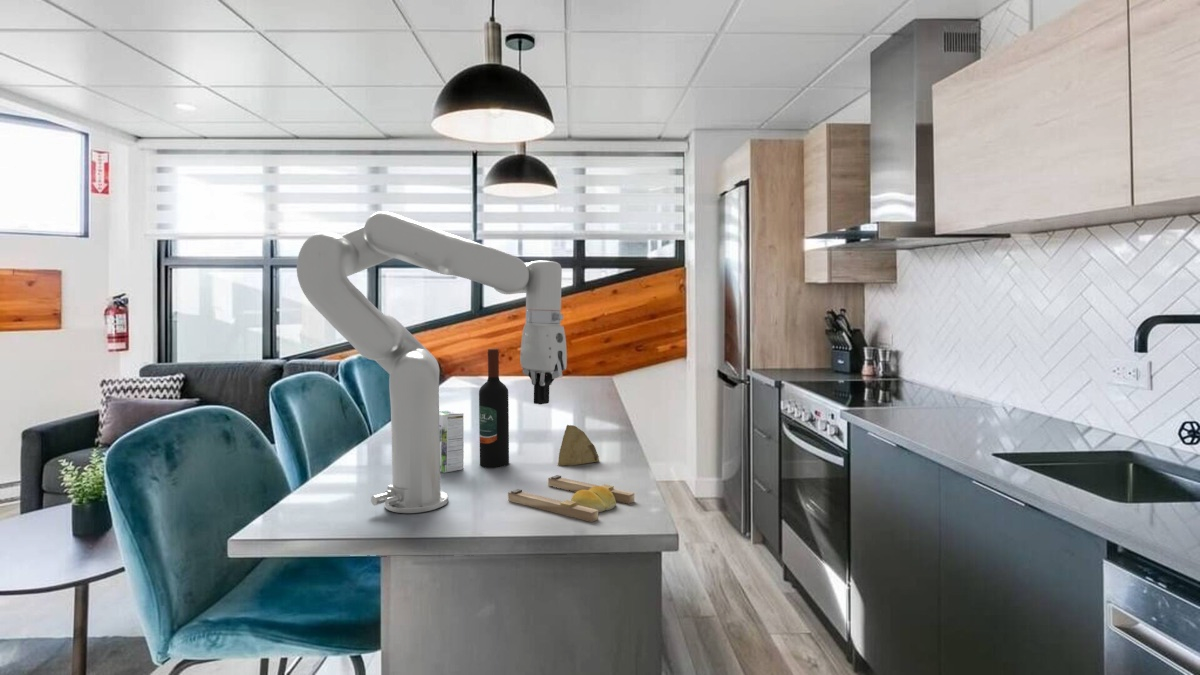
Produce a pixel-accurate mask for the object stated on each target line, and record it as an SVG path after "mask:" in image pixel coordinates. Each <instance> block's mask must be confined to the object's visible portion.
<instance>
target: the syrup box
mask: <svg viewBox="0 0 1200 675" xmlns="http://www.w3.org/2000/svg"><path fill="white" fill-rule="evenodd" d="M439 428H440V473H443V474H445V473H449V472H455V471H460V470H464V467H465V466H464V464H465V462H464V453H465V452H464V446H465V445H464V432H465V431H464V413H463V412H459V411H455V410H439Z"/></svg>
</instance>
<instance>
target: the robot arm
mask: <svg viewBox="0 0 1200 675" xmlns="http://www.w3.org/2000/svg"><path fill="white" fill-rule="evenodd" d="M392 259H396V260H400V261H402V262H405V263H408V264H411V265H414V266H417V267H420V268H423V269H425V270H428V271H431V272H433V273H436V274H437V273H438V274H440V275H444V276H445V275H446V276H453V277H454V276H455V277H459V278H462V279H466V280H469V281H473V282H476V283H479V284H482V285H484V286H487V287H489V288H493V289H494V290H495V291H496V292H498V293H500V294H501V295H502V294H503V295H515V294H525V324H523V329H522V335H521V339H520V340H521V343H520V356H519V358H520V367H521V368H522V374H523V375H525V376H527V377H529V378H530V380H531V381H530V382H531V385H532V386H533V404H535V405H545V404H549V403H550V386H552V384H553V382H554V380H556V379H560V378H561V379H562V378H563V371H566V370H567V366H568V362H567V361H568V358H567V357H568V354H567V352H568V350H567V337H566V333H565V328H564V325H561V321H563V320H564V315H563V314H562V313H561V312H562V311H561V310H562V283H563V282H562V278H563V276H562V273H563V272H562V266H561V263H559V262H557V261H552V260H551V261H550V260H534V261H533V260H531V261H530V262H524V261H523V259H521V258H519V257H517V256H515V255H513V254H510V253H508V252H504V251H502V250H499V249H496V248H494V247H491V246H488V245H485V244H482V243H479V242H476V241H473V240H469V239H466V238H464V237H461V236H458V235H456V234H452V233H450V232H446V231H443V230H441V229H438V228H436V227H432V226H430V225H427V224H424V223H422V222H418V221H417V220H413V219H411V218H408V217H405V216H403V215H400V214H397V213H394V212H392V211H391V212H389V211H377V212H374V213H372V215H370V216H369V217H368V219H367V220H366V221H365V224H364V226H361V227H360V228H357V229H355V230H352V231H349V232H346V233H344V234H341V235H340V234H337V233H334V232H330V231H329V232H328V231H323V232H317V233H314V234H313V235H311V236H309V237H308V238H307V239H306V240H305V241H304V242H303V243H302V246H301V248H300V250H299V252H298V256H297V261H296V275H297V276H296V277H297V281H298V284H299V286H300V288H301V291H302V293H303V294H304V296H305V297H306V299H307V301H308V302H310V304H311V305H312V306H313V307H314V309H315V310H317V311H318V313H320V315H321V316H322V317H323V318H324V319H326V322H327V321H328V322H329V324H330V325H331V326H332V327H333V328H334V329H335V330H336V331H337V332H338V333H339V334H340V335H341V336H342V337H343V338H344V339H345V340H346V341H347V342H348V343H349V344H350V345H351V346H352V347H353V348H354V349H355V350H356V352H357V353H358V354H359V355H361V356H362V357H363V358H365V359H368V360H371V361H375V362H376V363H377V364H378V365H379V366H380V367H381V368H383V370H385V372H387V374H389V379H388V385H389V387H388V388H389V390H388V391H389V400H390V429H391V430H390V432H391V464H392V466H391V470H392V471H391V472H392V476H391V477H392V484H389V485H387V490H385V492H384V493H378V494H374V495H372V496H371V497H370V503H371V504H372V506H377V505H381V504H384V507H385V509H386V510H387V511H390V512H393V513H398V514H419V513H425V512H431V511H435V510H436V509H437V510H438V509H440V508H441V507H444V506H445V505H447V504H448V502H449V495H448V493H446V492H444V491H443V490H441V471H440V428H439V411H440V394H439V393H440V366H439V362H438V360H437V359H436V357H435V356H434V354H432V353H431V352H430V350H428V349H427V348H426V347H425V346H424V345H423V344H422V343H421V342H420V341H419V340H418V339H417V338H416V337H415V336H414V335H413V334H412V333H411V331H409V330H408V329H407V328H406V327H405V326H404V325H403V324H402V323H401V322H400V321H399V320H397V319H396V318H395V317H394V316H391V315H390V314H385V313H383V312H382V311H381V310H380V309H378V308H377V306H375V305H374V304H373V303H372V302H371V301H370V300H369V299H368V298H367V296H365V295H364V294H363V293H362V291H360V289H358V288H357V286H355V285H354V284H353V283H352V281H350V279H349V278H348V277H350V276H352V275H355V274H357V273H360V272H362V271H364V270H366V269H370V268H372V267H374V266H378V265H380V264H382V263H385V262H388V261H389V260H392Z"/></svg>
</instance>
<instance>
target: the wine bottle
mask: <svg viewBox="0 0 1200 675" xmlns="http://www.w3.org/2000/svg"><path fill="white" fill-rule="evenodd" d="M499 350H500V349H498V348H491V349H490V348H489V349H487V375H488V376H487V380H486V381H485V383H483V384H482V385H481V387H480V388H479V390H478V419H479V420H478V425H479V429H478V431H479V432H478V433H479V437H478V438H479V466H480V467H481V466H482V468H485V467H486V468H487V469H498V468H503V467H507V466H509V464H510V432H509V431H510V430H509V429H510V427H509V426H510V425H509V424H510V422H509V419H510V416H509V410H510V409H509V407H510V406H509V405H510V404H509V389H508V387H507V386H506V385H505V384H504V383H503V382H502V381H501V380H500V373H499V372H500V371H499V370H500V368H499V366H500V365H499V363H500V362H499V360H500V351H499Z"/></svg>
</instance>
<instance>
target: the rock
mask: <svg viewBox="0 0 1200 675" xmlns="http://www.w3.org/2000/svg"><path fill="white" fill-rule="evenodd" d="M599 457H600V456H599V454H598V452H597V448H596V447H595V445H594V443H593V442H592V441H591V440H590V439H589V437H588V436H587V434H586V433H585V431H583V430H581V429H580V428H579V427H578V426H576V425H571V424H567V425H566V427H565V430H564V434H563V437H562V441H561V446H560V449H559V453H558V462H557V466H558V465H559V466H558V467H561V466H578V465H584V464H590V463H596V462H600V458H599Z"/></svg>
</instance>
